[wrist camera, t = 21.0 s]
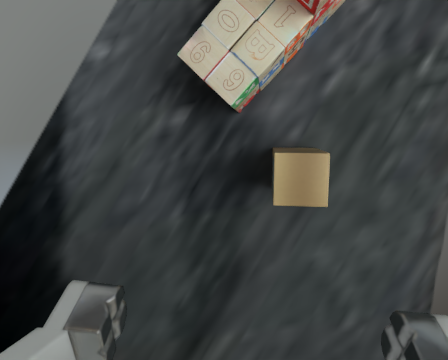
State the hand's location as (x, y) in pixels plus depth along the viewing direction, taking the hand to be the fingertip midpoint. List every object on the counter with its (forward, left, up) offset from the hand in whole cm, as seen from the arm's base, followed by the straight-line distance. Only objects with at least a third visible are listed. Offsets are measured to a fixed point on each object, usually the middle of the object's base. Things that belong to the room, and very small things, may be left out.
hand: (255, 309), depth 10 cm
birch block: (+3, +1, -27) cm, 27 cm away
